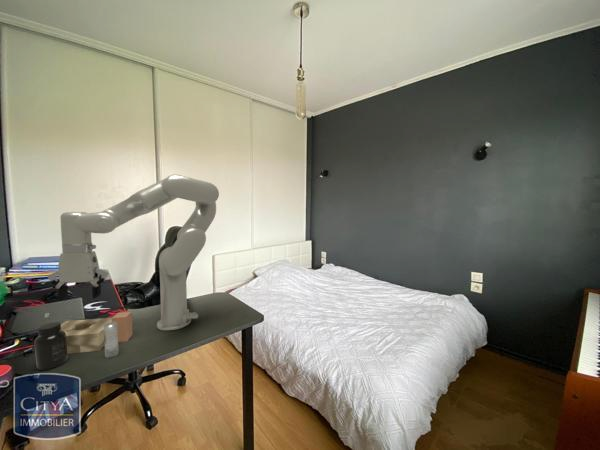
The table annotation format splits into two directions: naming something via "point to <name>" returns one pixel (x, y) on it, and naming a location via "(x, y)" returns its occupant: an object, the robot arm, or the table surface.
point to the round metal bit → (111, 339)
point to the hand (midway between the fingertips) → (80, 297)
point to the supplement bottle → (50, 346)
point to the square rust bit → (123, 325)
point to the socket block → (85, 334)
